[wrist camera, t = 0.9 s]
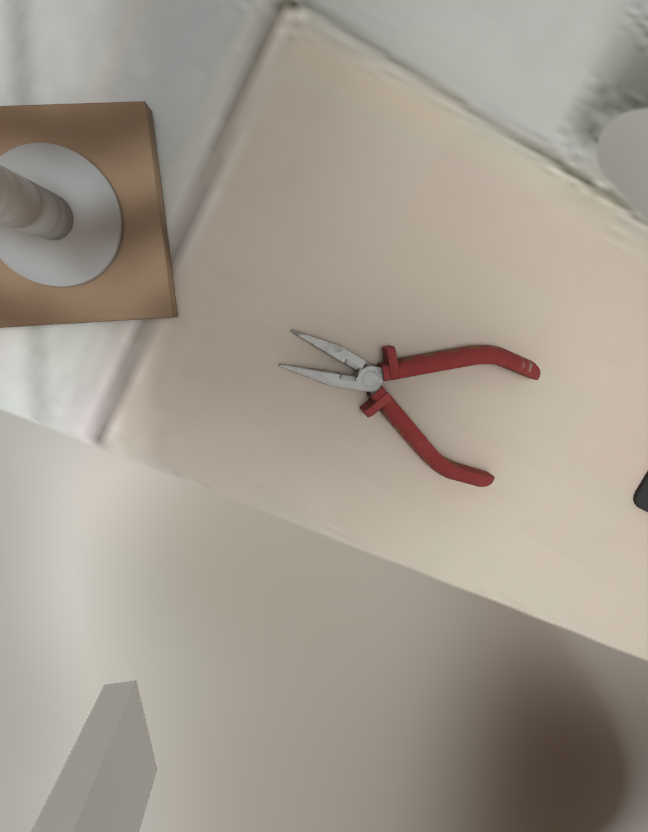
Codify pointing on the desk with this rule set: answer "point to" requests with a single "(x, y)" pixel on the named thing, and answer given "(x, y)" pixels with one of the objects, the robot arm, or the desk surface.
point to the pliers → (405, 367)
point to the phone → (642, 494)
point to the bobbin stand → (81, 216)
